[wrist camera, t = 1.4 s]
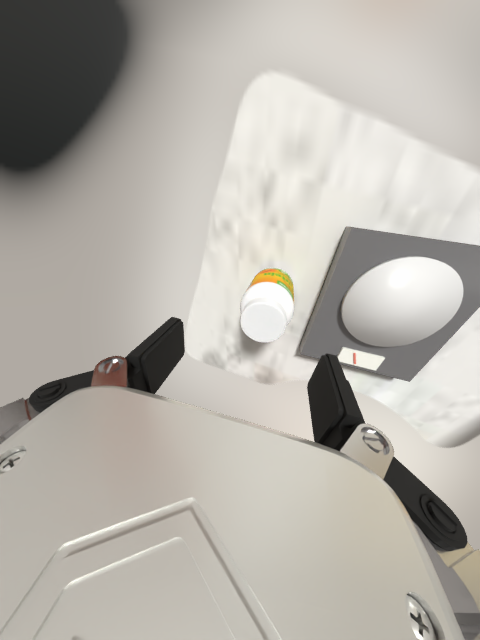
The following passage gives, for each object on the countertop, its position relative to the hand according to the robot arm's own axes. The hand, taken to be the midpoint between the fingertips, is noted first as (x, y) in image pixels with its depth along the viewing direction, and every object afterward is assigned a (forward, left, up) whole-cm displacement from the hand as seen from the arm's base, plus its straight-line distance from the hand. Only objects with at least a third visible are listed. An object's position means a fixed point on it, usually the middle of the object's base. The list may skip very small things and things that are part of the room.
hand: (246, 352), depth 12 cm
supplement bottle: (-1, 0, -14) cm, 14 cm away
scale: (-14, 0, -14) cm, 19 cm away
